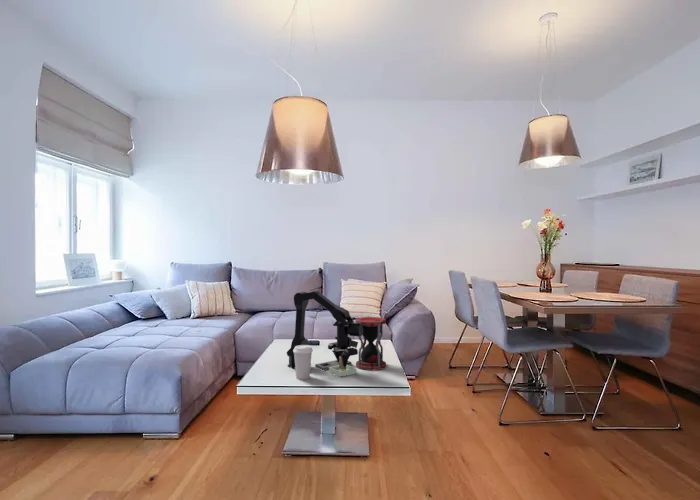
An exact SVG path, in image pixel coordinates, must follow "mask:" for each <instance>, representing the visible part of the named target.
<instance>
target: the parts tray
mask: <svg viewBox="0 0 700 500" xmlns="http://www.w3.org/2000/svg"><path fill="white" fill-rule="evenodd" d="M328 373H330V374H333V375H334V374H335V376H337V377H339V378H341V376H343V377H346V375H347V376H352V375H356V374H357V367H353V366H352V365H346V370H345V371H340V370H339V365H337V366H332V367H329V369H328Z"/></svg>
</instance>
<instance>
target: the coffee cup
mask: <svg viewBox="0 0 700 500" xmlns="http://www.w3.org/2000/svg"><path fill="white" fill-rule="evenodd" d="M293 352H294V358H295V368H294V369H295V378H296V379H297V380H299V381H300V380H301V381H302V380H309V379H310V377H311V365H312V353H313V347H312V346H311V345H309V344H307V345H298V346H295V348H294V350H293Z"/></svg>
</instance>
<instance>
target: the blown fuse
mask: <svg viewBox="0 0 700 500" xmlns="http://www.w3.org/2000/svg"><path fill="white" fill-rule="evenodd" d="M339 370H340V371H345V370H346V367H344V366H343V362H342V358H341V355H340V356H339Z"/></svg>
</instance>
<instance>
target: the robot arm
mask: <svg viewBox="0 0 700 500" xmlns="http://www.w3.org/2000/svg"><path fill="white" fill-rule="evenodd" d="M310 300H313V301H315V302H317V303H318V304H319V305H320V306H322V307H323V308H324V309H325V310H327V311H329V313H330V314H331V316H332V317H333V319H335V320H336V321H335V322H334V323H333V324H332V326H333V327H336V336H334V339H335V340H336V341H335V342H330V343H328V345H327V349H328V350H332V351H331V352H332V353H333V355H334V357H335V359H336V360H337V361H338V363H339V356H340V355H341V358H342V362H343V366H344V367H346V365H347V362H348V361H349V359H350V357H352V356H356V355H359V350H358V348H357V347H358V344H359V341H355V340H353V339H352V337H358V338H359V337H361V338H362V337H363V327H362V325H361V323H356V322H355V321H354V319H353V318H352V316H351V315H350V311H349V310H347V309H346V308H344V307H341V306H338V305H337V304H335V303H334V302H333V301H331V300H330V299H329V298H327V297H326V296H325V295H324V294H322V293H321V292H320V291H319V290H312V291H311V292H307V291H301V292H296V293H294V295H293V304H294V307H295V326H294V328H295V329H294V336H293V338H292V341H291V344H290V345H291V346H290V348H289V349H288V350H287V351H286V355H287V357H288V364H287V367H289V368H291V369H295V358H294V352H293V350H294V348H295V346H298V345H308V338H306V337H305V325H306V324H305V322H306V309H307V307H308V304H309V301H310ZM343 352H344V354H343Z"/></svg>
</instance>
